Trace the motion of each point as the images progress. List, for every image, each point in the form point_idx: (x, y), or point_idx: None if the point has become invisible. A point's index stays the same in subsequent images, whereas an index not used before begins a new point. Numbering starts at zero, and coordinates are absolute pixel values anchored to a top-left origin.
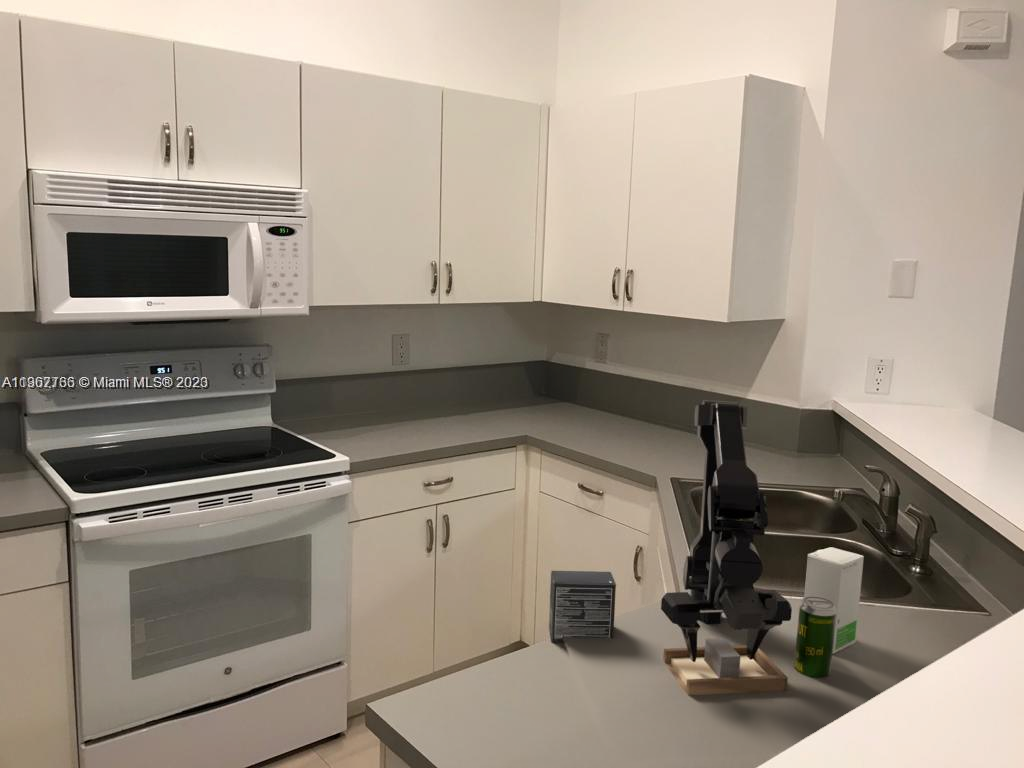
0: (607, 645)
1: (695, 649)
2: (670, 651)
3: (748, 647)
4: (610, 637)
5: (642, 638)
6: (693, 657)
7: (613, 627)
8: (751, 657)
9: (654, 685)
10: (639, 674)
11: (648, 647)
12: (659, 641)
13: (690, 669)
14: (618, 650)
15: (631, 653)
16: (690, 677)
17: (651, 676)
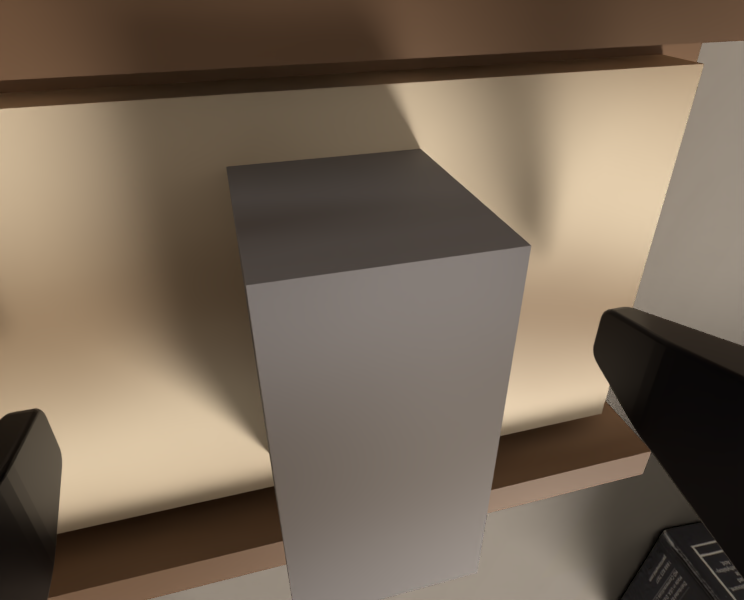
0: (685, 514)
1: (734, 363)
2: (619, 455)
3: (36, 544)
4: (692, 550)
5: (524, 588)
6: (666, 320)
7: (714, 598)
8: (21, 422)
9: (731, 201)
10: (724, 310)
11: (539, 535)
12: (466, 586)
13: (567, 294)
14: (671, 490)
15: (637, 478)
16: (636, 176)
17: (683, 296)
